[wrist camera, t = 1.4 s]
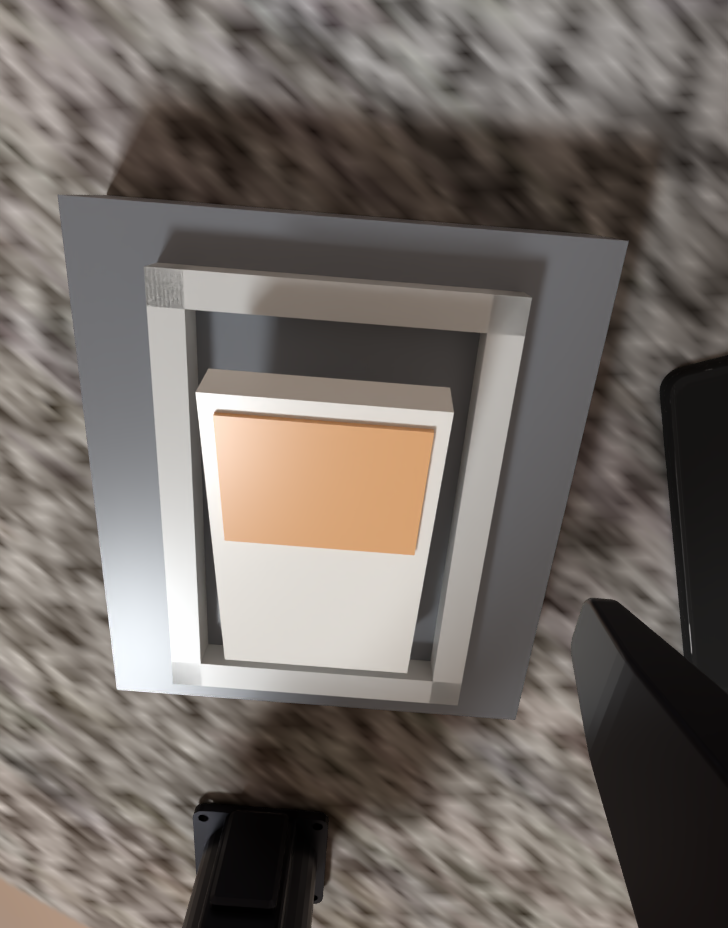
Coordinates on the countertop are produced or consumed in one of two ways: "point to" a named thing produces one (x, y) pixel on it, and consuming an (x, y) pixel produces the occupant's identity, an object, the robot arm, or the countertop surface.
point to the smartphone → (700, 507)
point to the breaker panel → (341, 357)
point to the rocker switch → (321, 513)
